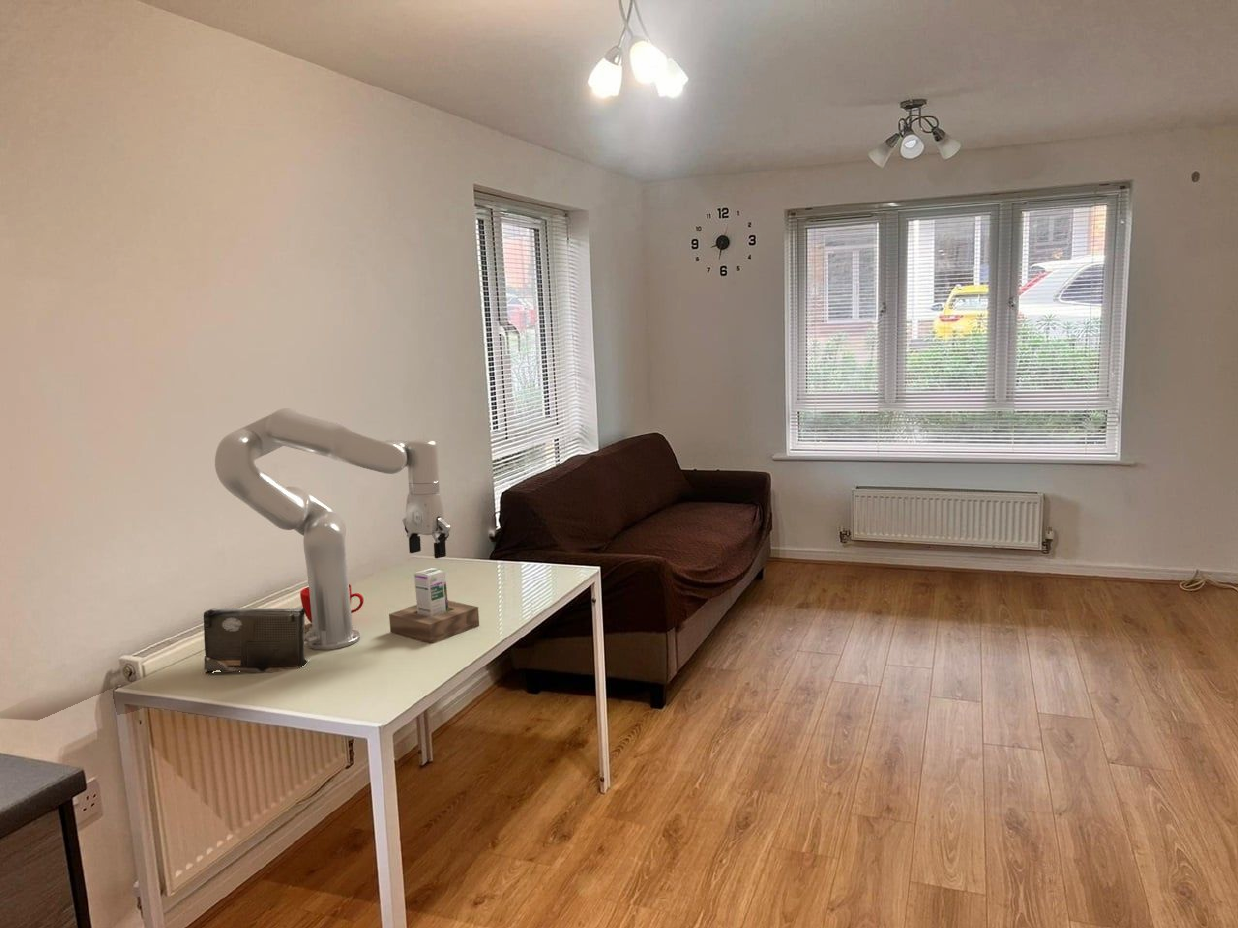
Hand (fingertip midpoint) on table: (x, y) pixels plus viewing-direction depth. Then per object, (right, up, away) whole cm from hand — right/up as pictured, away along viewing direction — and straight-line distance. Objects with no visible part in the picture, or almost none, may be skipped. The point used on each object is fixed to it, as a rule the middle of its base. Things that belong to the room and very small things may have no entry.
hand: (427, 554), depth 223 cm
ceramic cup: (-27, -20, +10) cm, 35 cm away
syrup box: (+1, -19, +3) cm, 19 cm away
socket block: (+1, -20, +3) cm, 20 cm away
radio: (-35, -25, -18) cm, 47 cm away
